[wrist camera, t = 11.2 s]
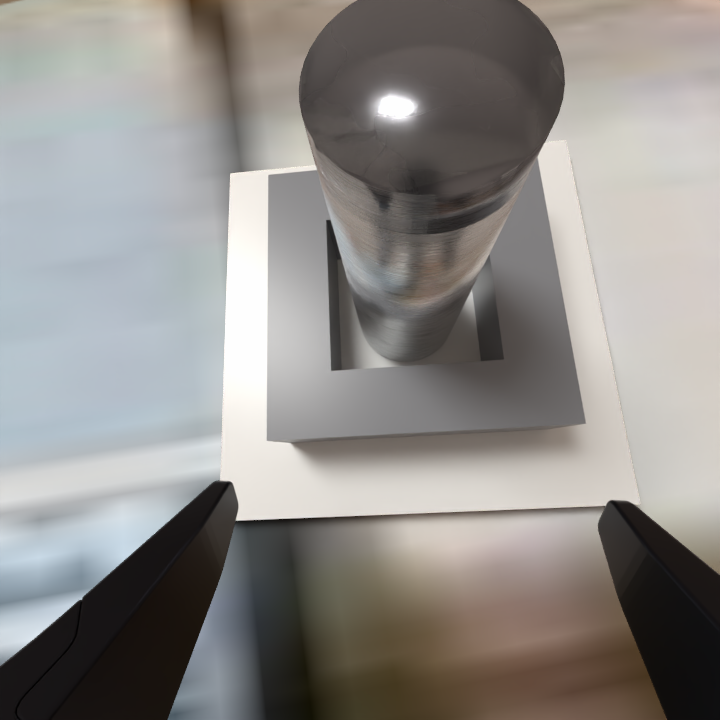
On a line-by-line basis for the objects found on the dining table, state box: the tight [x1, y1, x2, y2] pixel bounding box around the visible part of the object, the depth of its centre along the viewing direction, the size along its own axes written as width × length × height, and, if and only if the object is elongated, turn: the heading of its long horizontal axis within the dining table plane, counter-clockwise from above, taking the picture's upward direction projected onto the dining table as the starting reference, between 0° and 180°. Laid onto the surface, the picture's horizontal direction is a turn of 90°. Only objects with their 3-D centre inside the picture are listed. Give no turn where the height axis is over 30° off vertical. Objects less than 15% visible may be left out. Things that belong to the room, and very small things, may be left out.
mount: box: [220, 140, 641, 521], centre depth 18 cm, size 18×18×4 cm
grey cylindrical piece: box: [299, 0, 565, 362], centre depth 13 cm, size 4×4×12 cm
